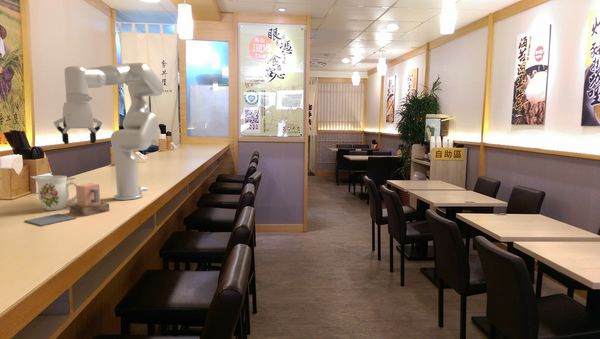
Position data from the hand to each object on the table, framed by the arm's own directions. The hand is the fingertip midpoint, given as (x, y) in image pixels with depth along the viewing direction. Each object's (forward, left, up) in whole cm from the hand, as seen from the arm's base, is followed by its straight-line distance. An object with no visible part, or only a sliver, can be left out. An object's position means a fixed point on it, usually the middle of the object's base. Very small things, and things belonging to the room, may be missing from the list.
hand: (79, 143), depth 162 cm
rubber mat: (+15, +2, -27) cm, 31 cm away
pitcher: (+3, -16, -28) cm, 32 cm away
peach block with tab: (0, +4, -27) cm, 28 cm away
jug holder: (0, +2, -27) cm, 27 cm away
